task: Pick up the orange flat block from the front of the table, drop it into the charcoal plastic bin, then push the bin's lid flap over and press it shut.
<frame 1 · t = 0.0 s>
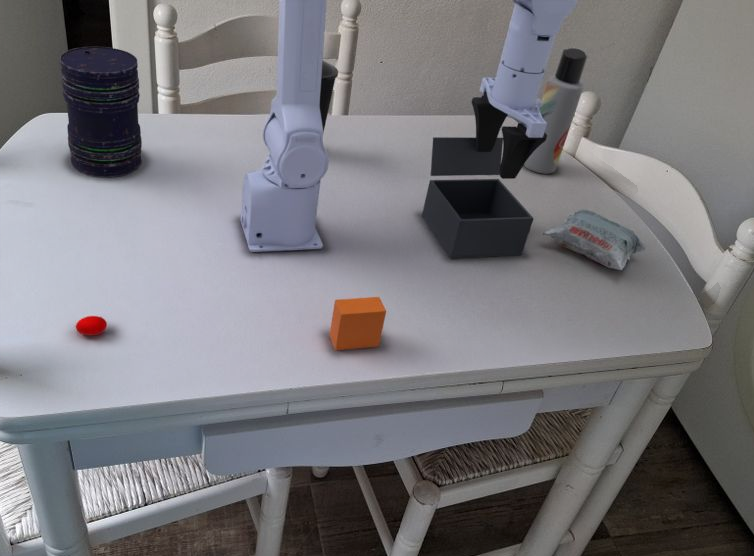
hand: (495, 163, 96), 10 cm above the table, tool pointing down, fingers open, 7 cm apart
bin: (470, 235, 99), on the table
lotion bottle: (538, 167, 121), on the table
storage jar: (106, 162, 102), on the table
drinking cup: (304, 152, 114), on the table
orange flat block: (354, 341, 77), on the table
bin flap: (467, 156, 99), point 9 cm above the table, hinge at 110.0°
packaged food: (589, 255, 100), on the table
candy: (92, 334, 73), on the table
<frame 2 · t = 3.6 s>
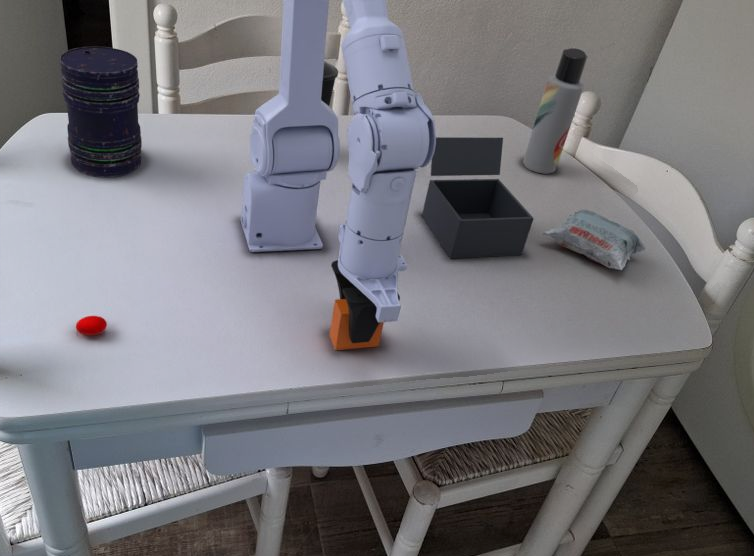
hand: (355, 331, 77), 1 cm above the table, tool pointing down, fingers closed on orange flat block, 2 cm apart
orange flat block: (354, 340, 78), on the table, touching gripper
everything else where it was.
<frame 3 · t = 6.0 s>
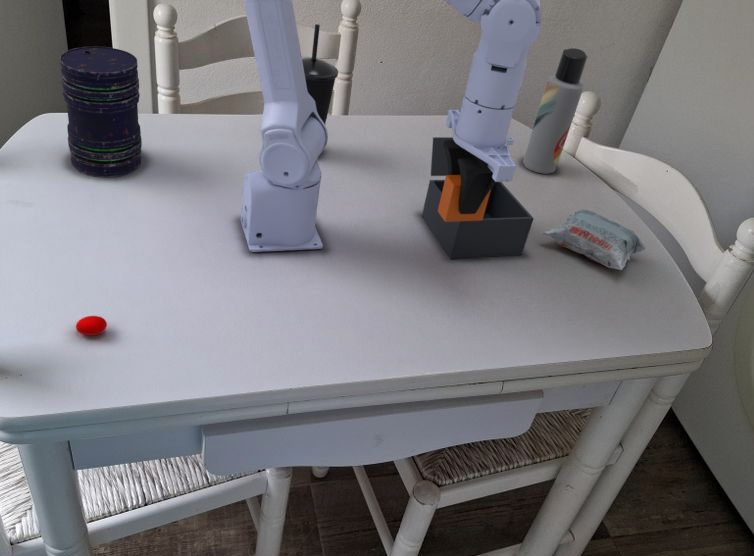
hand: (462, 206, 86), 10 cm above the table, tool pointing down, fingers closed on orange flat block, 2 cm apart
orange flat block: (459, 215, 87), point 8 cm above the table, touching gripper
everything else where it was.
when the fingers open (6 cm above the table, at t = 8.3 s): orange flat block drops 4 cm, resting on bin.
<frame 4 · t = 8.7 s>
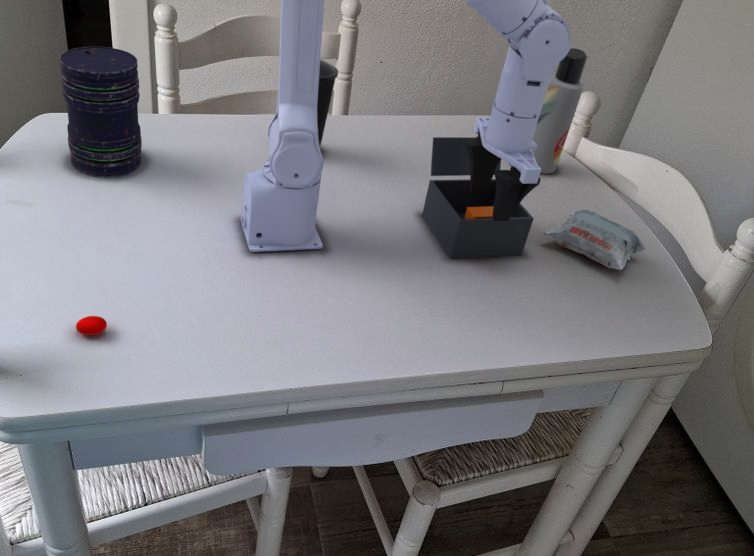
hand: (488, 205, 94), 6 cm above the table, tool pointing down, fingers open, 6 cm apart
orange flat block: (478, 242, 97), resting on bin
everything else where it was.
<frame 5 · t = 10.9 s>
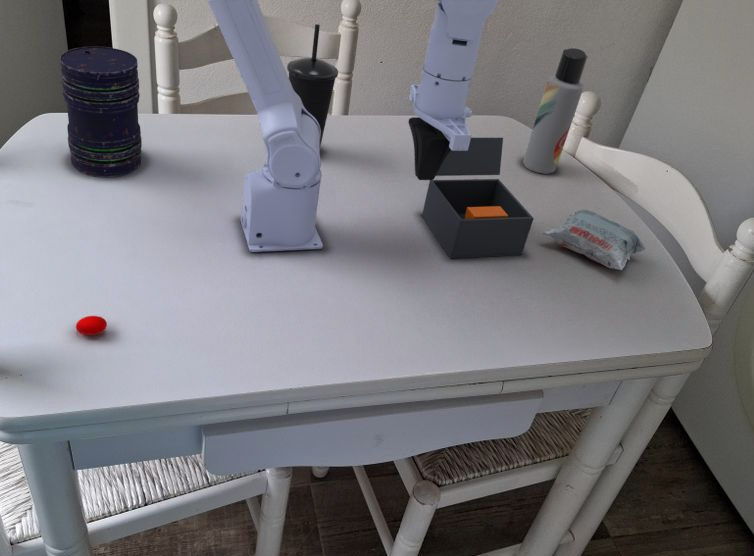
hand: (424, 177, 89), 10 cm above the table, tool pointing down, fingers closed
nothing on the table moved.
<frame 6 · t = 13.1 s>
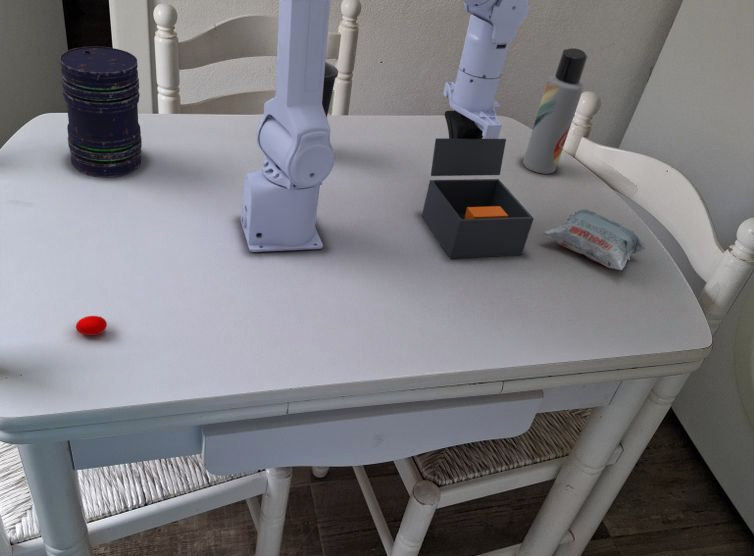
hand: (457, 163, 102), 7 cm above the table, tool pointing down, fingers closed
bin flap: (468, 157, 99), point 9 cm above the table, hinge at 100.4°, touching gripper
everything else where it was.
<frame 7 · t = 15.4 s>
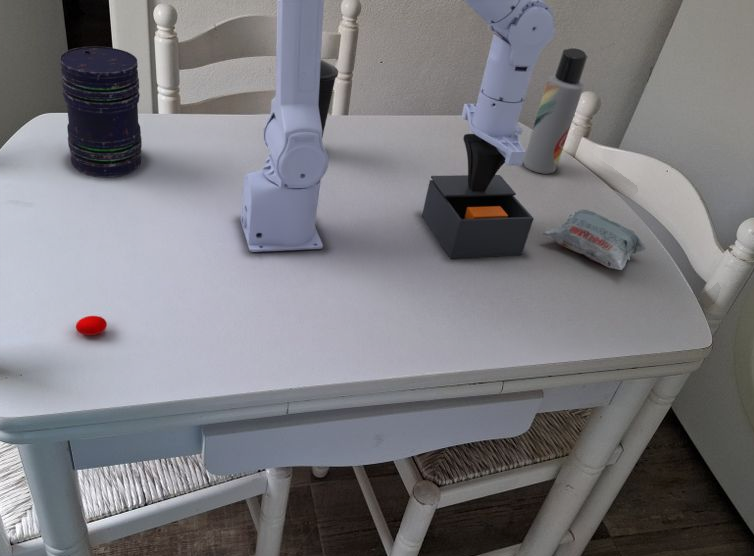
hand: (476, 188, 97), 7 cm above the table, tool pointing down, fingers closed
bin flap: (473, 185, 98), point 6 cm above the table, hinge at -1.1°, touching gripper
everything else where it was.
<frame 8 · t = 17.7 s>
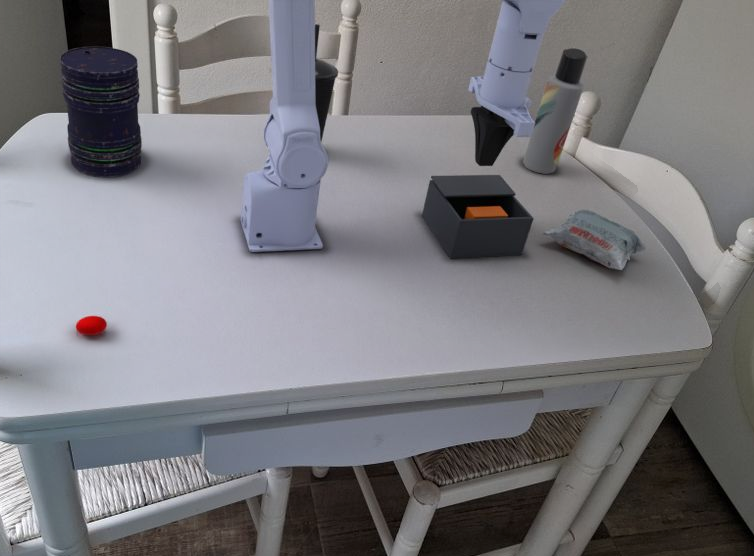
hand: (483, 163, 95), 10 cm above the table, tool pointing down, fingers closed
bin flap: (473, 185, 98), point 6 cm above the table, hinge at -1.6°
everything else where it was.
at the end: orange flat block inside the target area in the bin (2.5 cm from its centre), point 0.4 cm above the bin's base; bin flap at -2° (first picture: +110°) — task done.
